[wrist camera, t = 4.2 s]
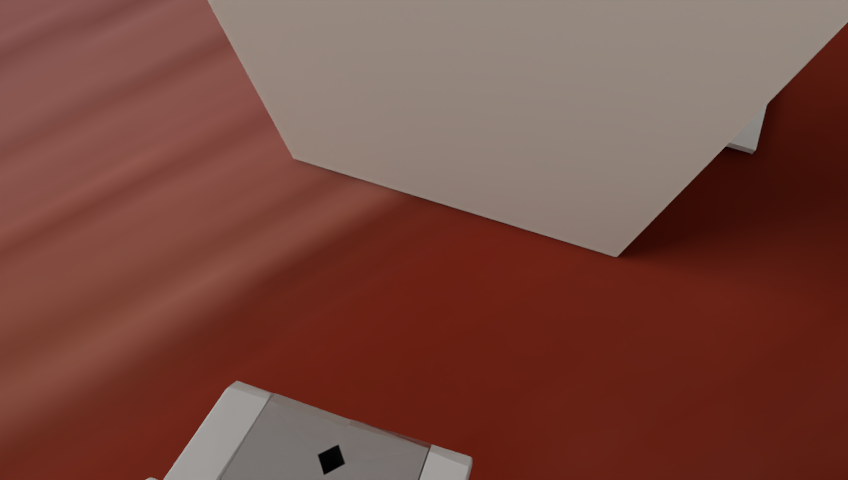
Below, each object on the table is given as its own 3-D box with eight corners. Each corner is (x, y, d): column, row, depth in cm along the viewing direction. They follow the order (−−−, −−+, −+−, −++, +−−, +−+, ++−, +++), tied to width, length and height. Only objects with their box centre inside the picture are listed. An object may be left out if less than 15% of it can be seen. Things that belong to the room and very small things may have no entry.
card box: (616, 257, 23) (868, 0, 9) (293, 158, 24) (96, -204, 10) (646, 148, 24) (920, -235, 10) (332, 57, 25) (196, -406, 11)
